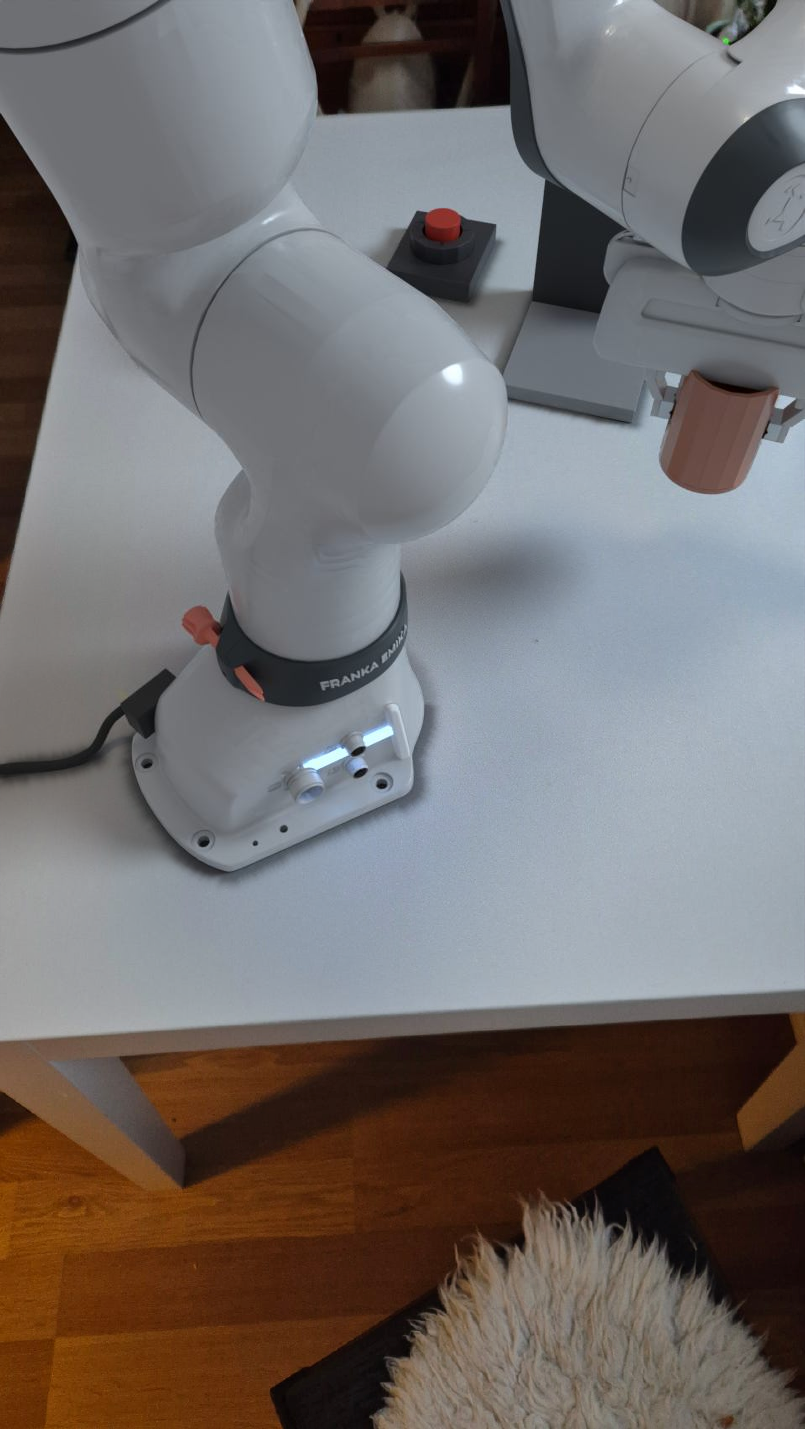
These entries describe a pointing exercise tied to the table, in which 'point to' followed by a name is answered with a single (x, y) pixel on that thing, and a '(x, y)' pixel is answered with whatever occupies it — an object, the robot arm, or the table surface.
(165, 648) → the table surface
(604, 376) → the coffee maker
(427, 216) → the button
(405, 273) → the control block
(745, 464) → the cup
